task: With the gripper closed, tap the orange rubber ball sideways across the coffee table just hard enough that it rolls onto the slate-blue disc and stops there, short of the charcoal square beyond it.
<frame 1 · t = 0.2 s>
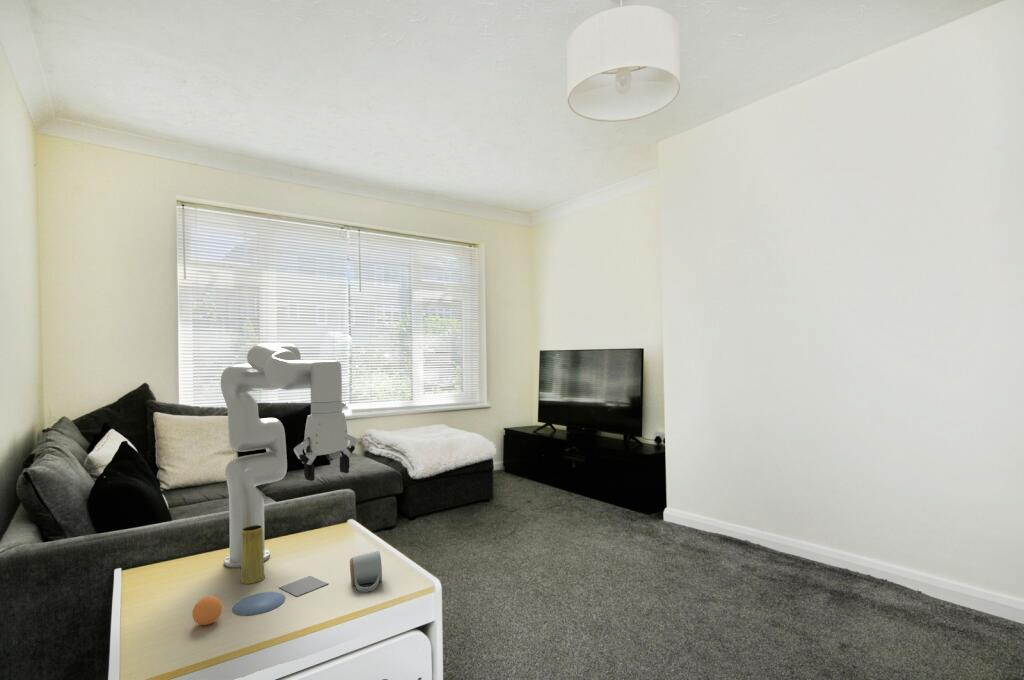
hand: (327, 476, 132), 31 cm above the table, tool pointing down, fingers open, 9 cm apart
ball: (207, 610, 121), on the table
vase: (252, 580, 145), on the table
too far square: (303, 586, 140), on the table
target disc: (259, 603, 130), on the table
grey rounded holder: (367, 584, 140), on the table
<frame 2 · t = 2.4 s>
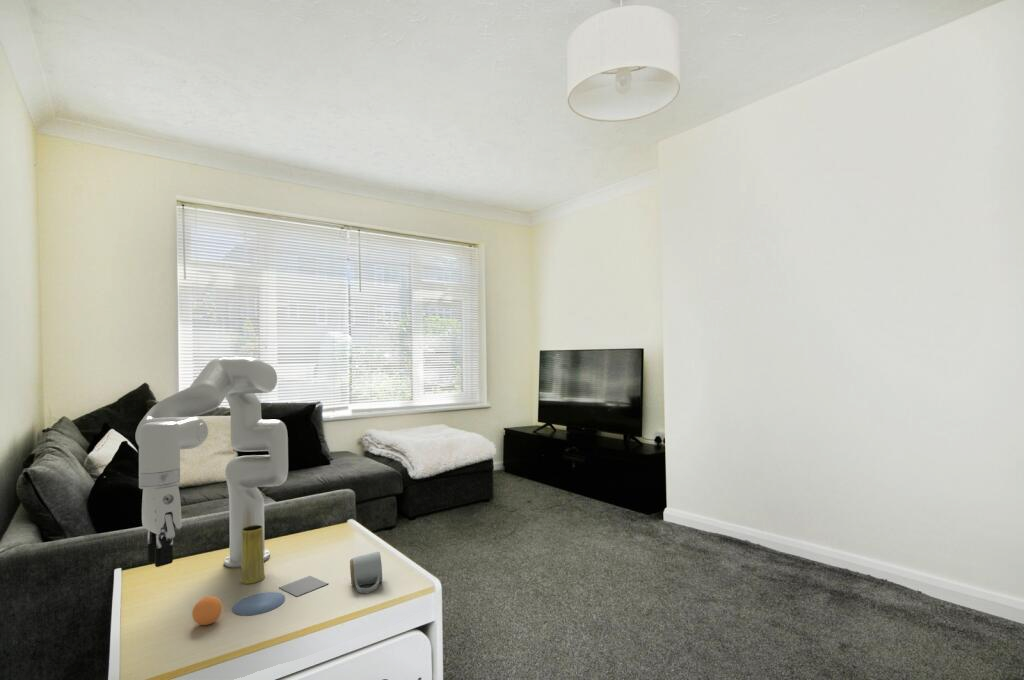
hand: (160, 561, 114), 17 cm above the table, tool pointing down, fingers open, 3 cm apart
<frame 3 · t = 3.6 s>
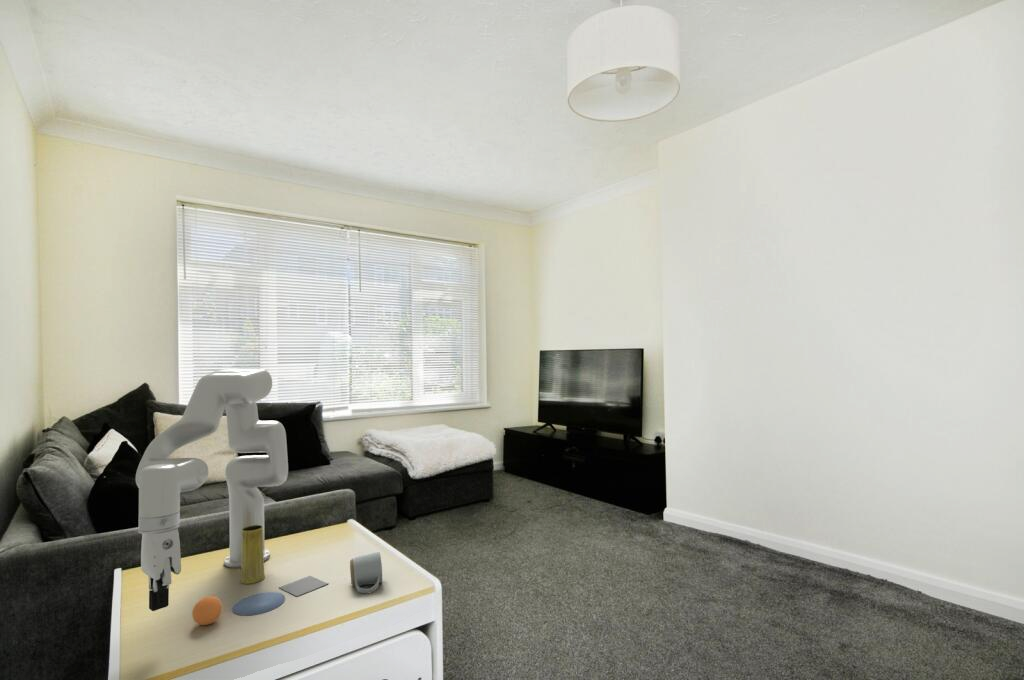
hand: (158, 607, 113), 8 cm above the table, tool pointing down, fingers closed
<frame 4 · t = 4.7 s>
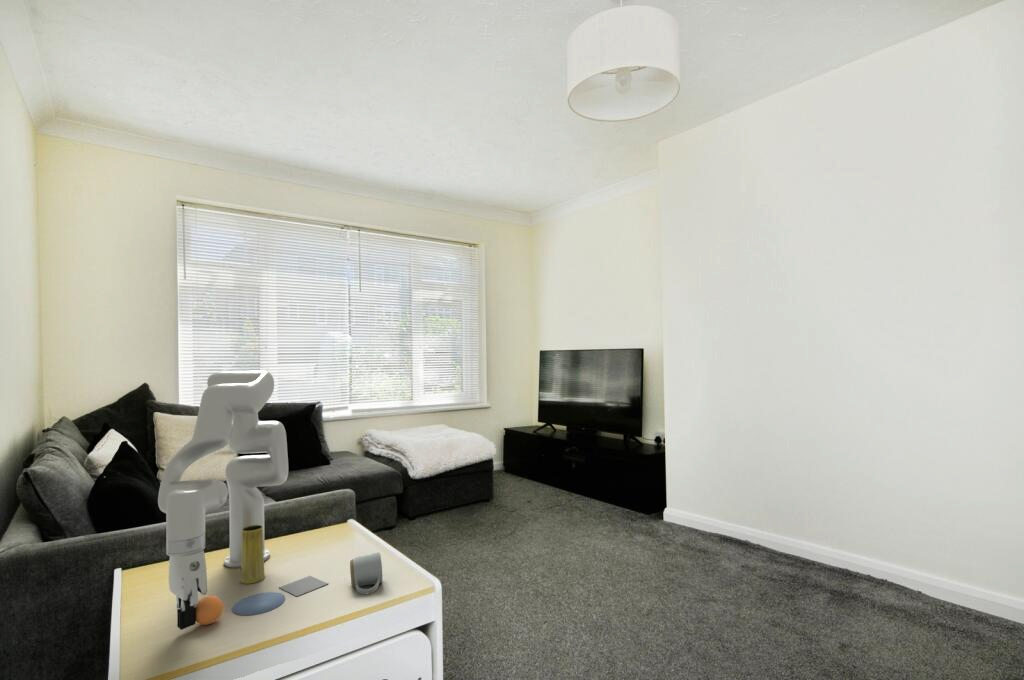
hand: (186, 625, 118), 1 cm above the table, tool pointing down, fingers closed
ball: (208, 610, 121), on the table, touching gripper
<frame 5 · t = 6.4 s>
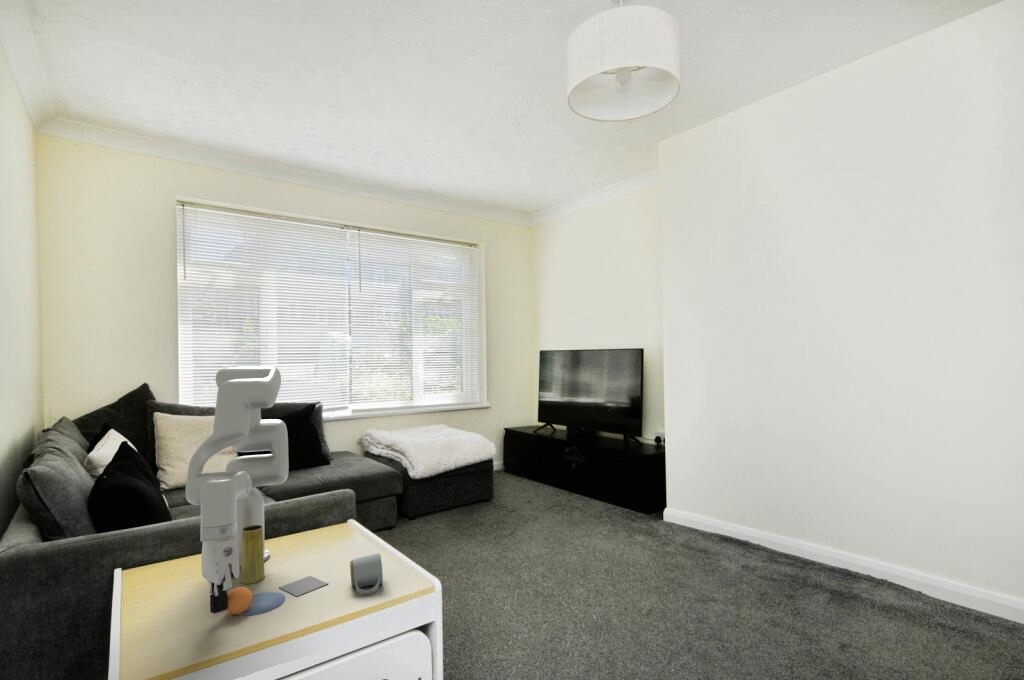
hand: (218, 610, 122), 2 cm above the table, tool pointing down, fingers closed
ball: (238, 600, 126), on the table, touching gripper
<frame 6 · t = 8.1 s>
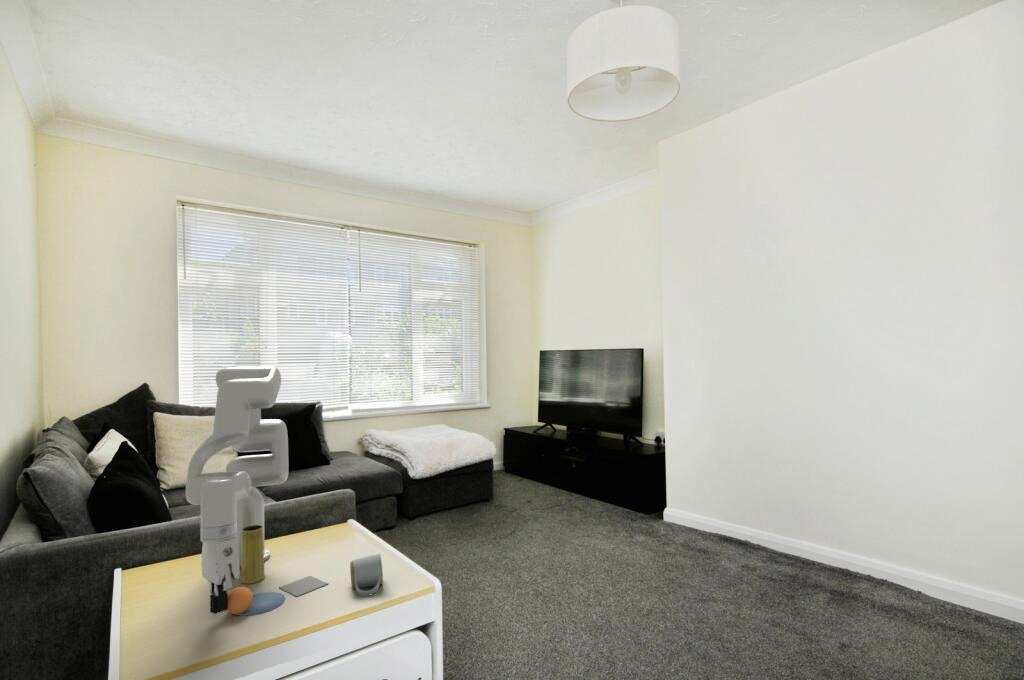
hand: (219, 610, 122), 2 cm above the table, tool pointing down, fingers closed
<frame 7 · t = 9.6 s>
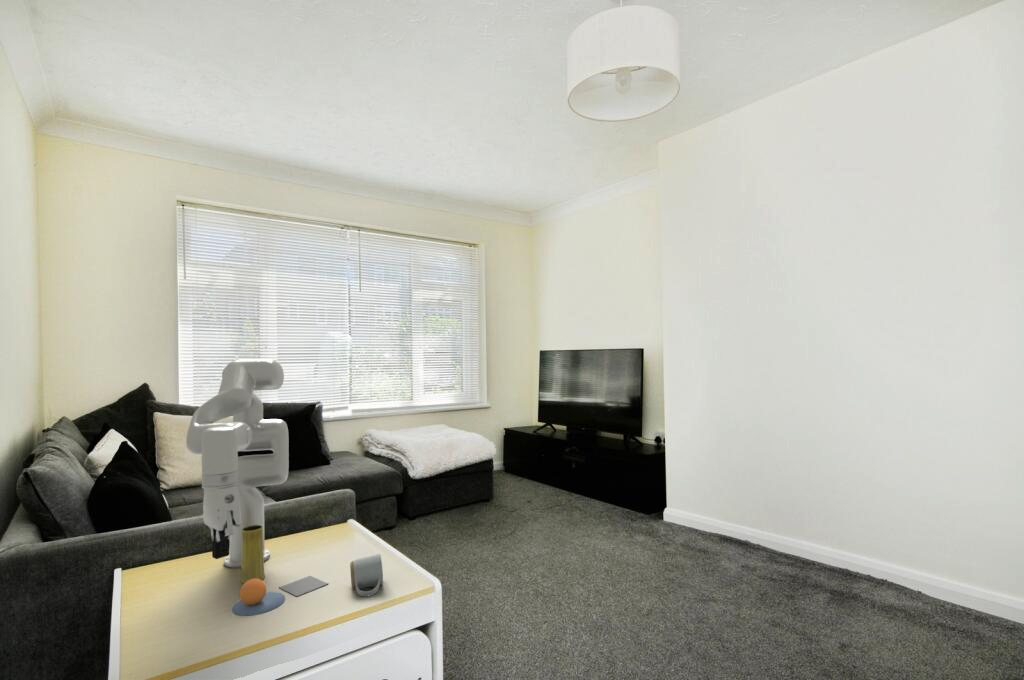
hand: (220, 556, 124), 14 cm above the table, tool pointing down, fingers closed
ball: (253, 591, 130), on the table
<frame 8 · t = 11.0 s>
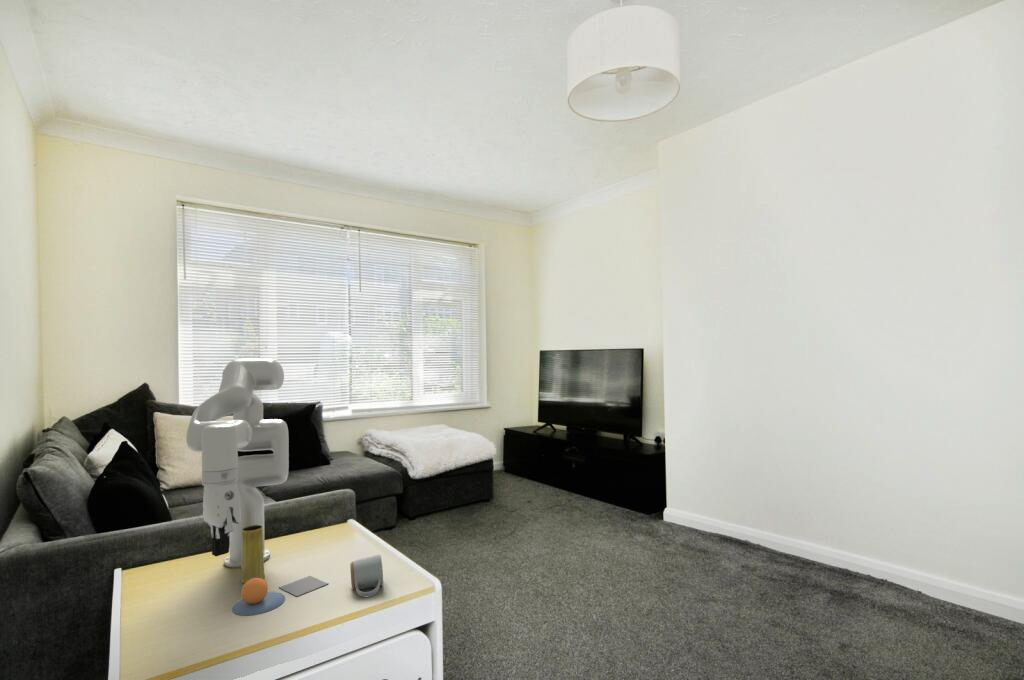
hand: (220, 553, 124), 15 cm above the table, tool pointing down, fingers closed
at the end: ball 1.3 cm from the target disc (horizontally); ball at rest at the end (0.0 cm/s); ball moved 11.6 cm from its start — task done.
